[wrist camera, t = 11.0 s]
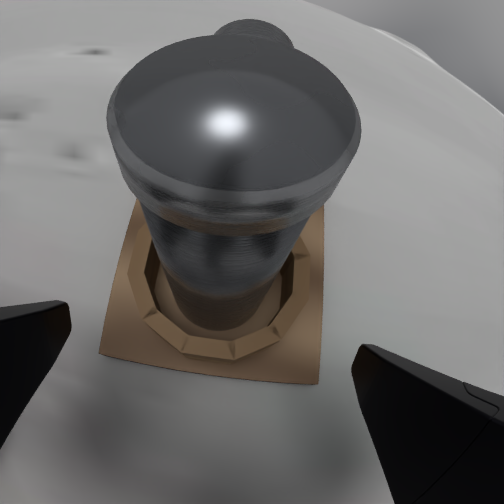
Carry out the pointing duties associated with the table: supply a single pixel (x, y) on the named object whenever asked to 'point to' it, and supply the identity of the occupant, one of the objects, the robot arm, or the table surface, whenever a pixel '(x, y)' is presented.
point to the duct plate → (219, 342)
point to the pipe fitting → (230, 160)
